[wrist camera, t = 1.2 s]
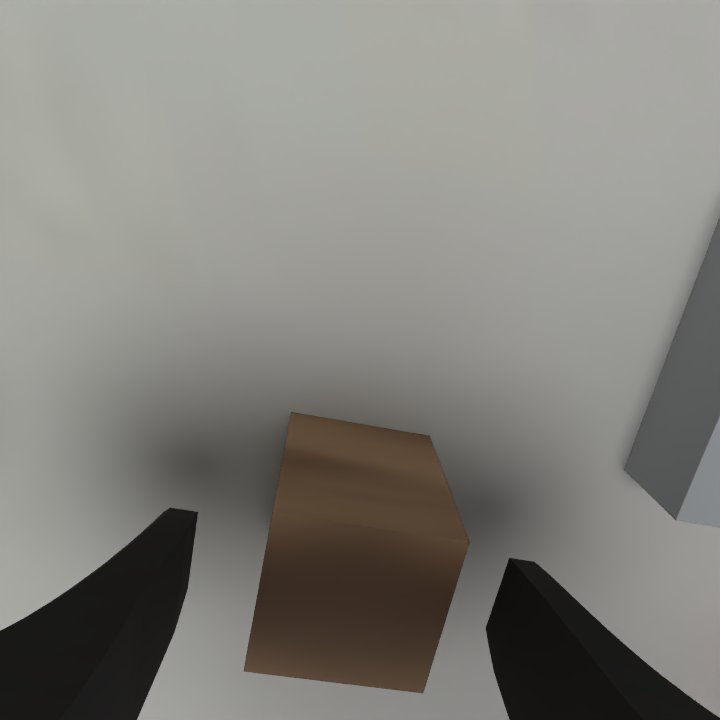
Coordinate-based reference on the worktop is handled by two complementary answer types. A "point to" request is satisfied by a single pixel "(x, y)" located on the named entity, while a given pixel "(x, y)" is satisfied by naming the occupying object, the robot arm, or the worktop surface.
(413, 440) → the walnut block
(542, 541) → the worktop surface
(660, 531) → the worktop surface
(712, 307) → the slate slab
